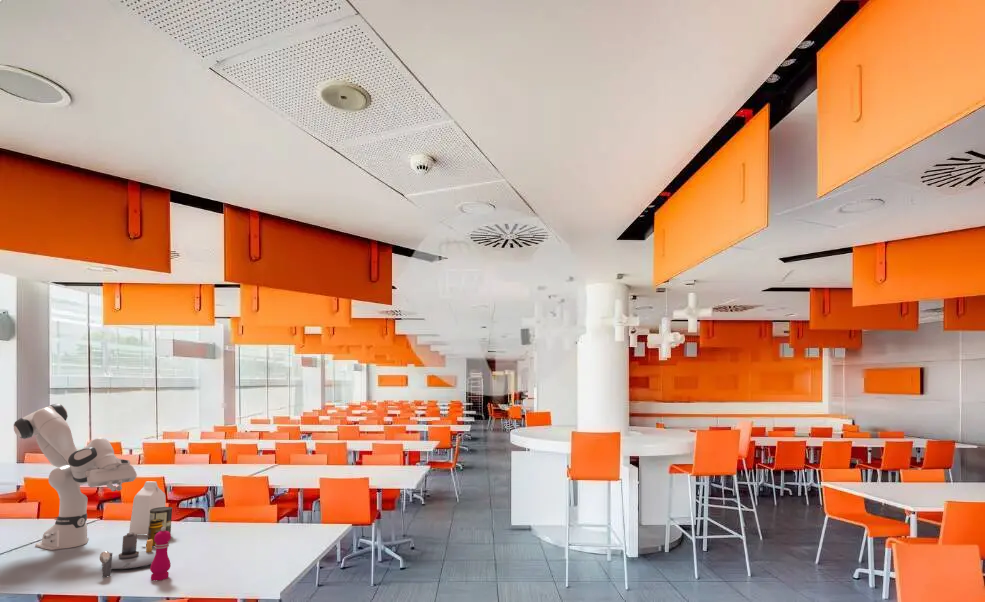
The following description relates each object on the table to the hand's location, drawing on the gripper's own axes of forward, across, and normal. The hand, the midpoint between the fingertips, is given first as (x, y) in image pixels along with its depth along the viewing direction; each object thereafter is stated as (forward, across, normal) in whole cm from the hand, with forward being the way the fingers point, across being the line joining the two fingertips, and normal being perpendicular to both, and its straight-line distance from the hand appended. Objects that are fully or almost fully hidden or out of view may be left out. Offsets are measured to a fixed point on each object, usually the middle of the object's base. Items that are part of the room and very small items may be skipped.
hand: (117, 489), depth 268 cm
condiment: (+20, +19, +22) cm, 35 cm away
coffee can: (+11, +30, +31) cm, 44 cm away
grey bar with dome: (+41, -16, 0) cm, 44 cm away
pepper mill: (+56, -6, -14) cm, 58 cm away
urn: (+30, -1, +8) cm, 31 cm away
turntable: (+34, -1, +5) cm, 35 cm away
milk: (0, +32, +42) cm, 53 cm away
